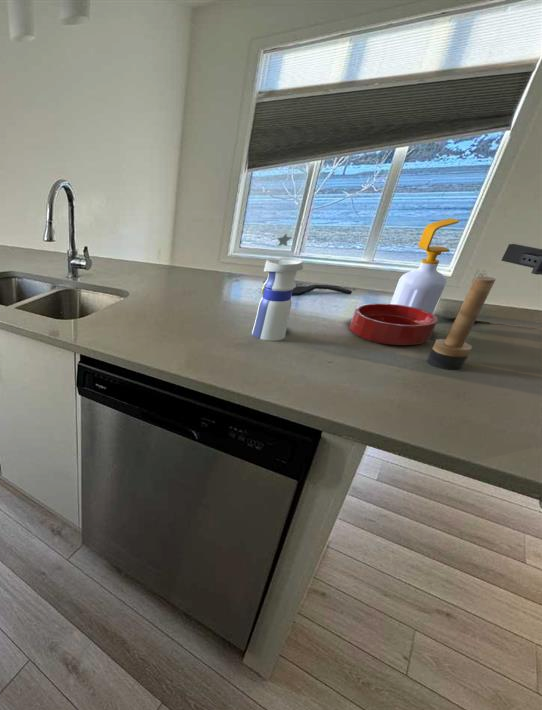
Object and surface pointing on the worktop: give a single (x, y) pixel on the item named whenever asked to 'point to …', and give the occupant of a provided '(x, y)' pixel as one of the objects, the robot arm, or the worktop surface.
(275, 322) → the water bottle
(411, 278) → the soap bottle
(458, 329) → the dish brush
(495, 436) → the worktop surface
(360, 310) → the red bowl
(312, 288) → the hairbrush
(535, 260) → the robot arm
